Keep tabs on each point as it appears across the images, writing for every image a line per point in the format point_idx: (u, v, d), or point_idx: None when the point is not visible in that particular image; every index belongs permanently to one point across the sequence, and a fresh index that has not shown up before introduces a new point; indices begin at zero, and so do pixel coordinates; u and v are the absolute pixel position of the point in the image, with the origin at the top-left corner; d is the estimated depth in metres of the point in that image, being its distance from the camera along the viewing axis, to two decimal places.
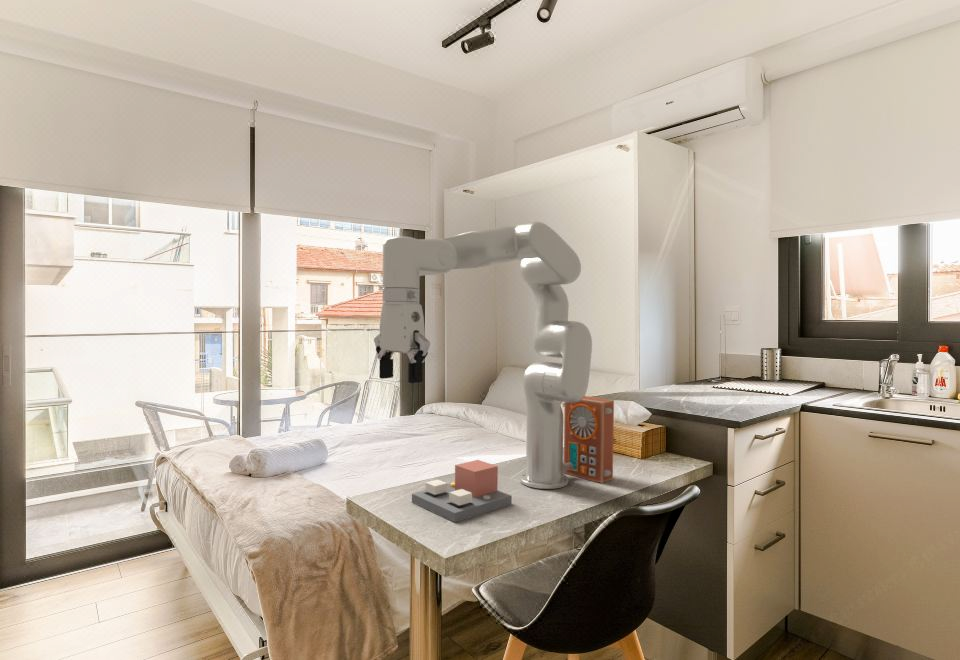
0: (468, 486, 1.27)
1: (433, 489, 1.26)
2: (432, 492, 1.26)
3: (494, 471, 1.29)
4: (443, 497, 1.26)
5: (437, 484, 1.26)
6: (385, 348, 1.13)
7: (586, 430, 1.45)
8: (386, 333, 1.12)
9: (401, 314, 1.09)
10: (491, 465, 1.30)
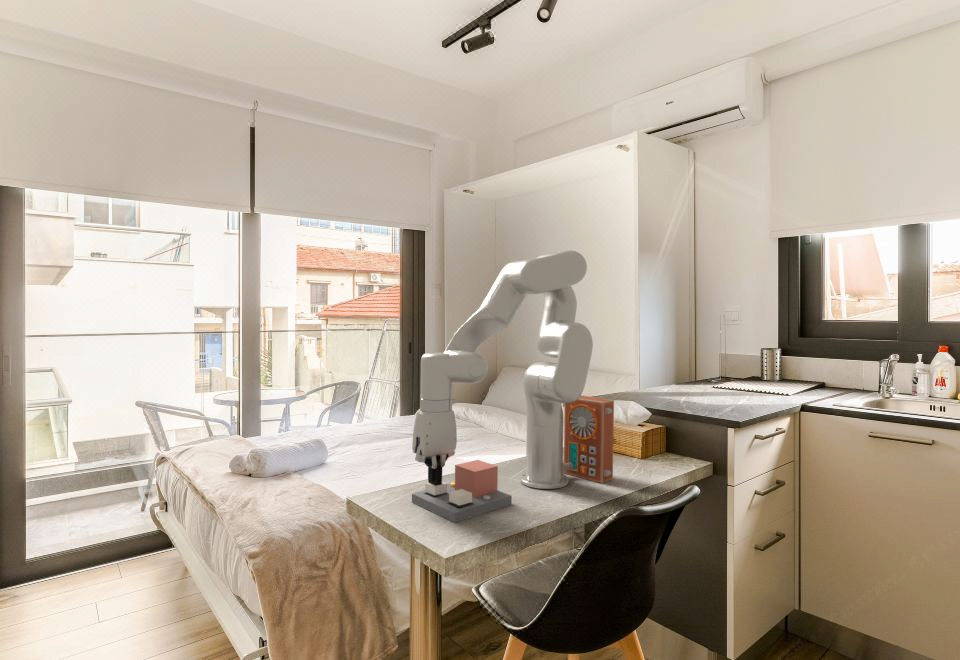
0: (468, 486, 1.27)
1: (433, 490, 1.26)
2: (432, 493, 1.26)
3: (494, 471, 1.29)
4: (443, 497, 1.26)
5: (437, 485, 1.26)
6: (432, 454, 1.24)
7: (586, 430, 1.45)
8: (436, 440, 1.25)
9: (452, 420, 1.28)
10: (491, 465, 1.30)
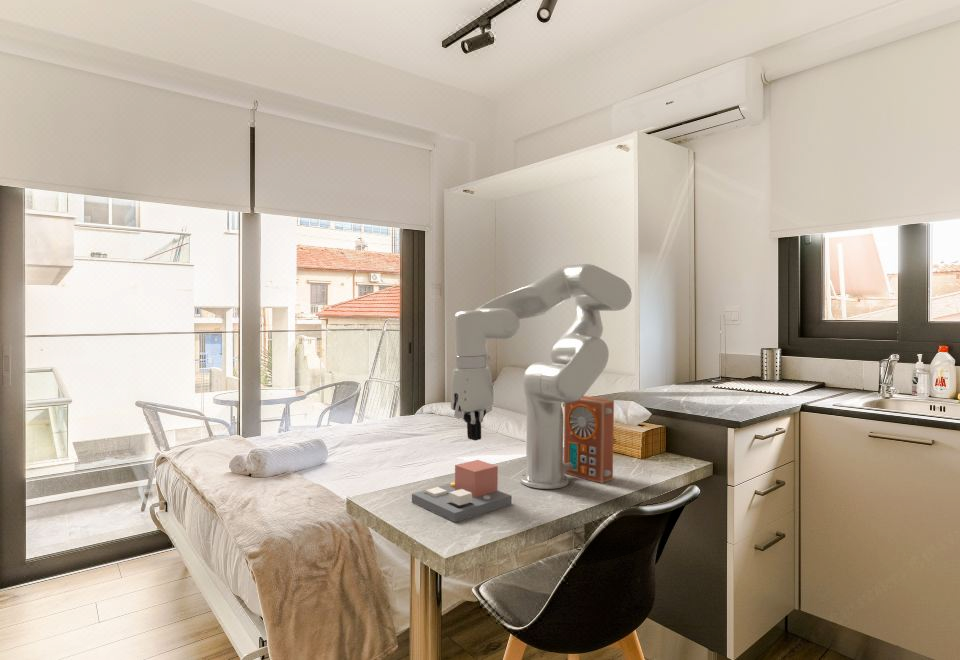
0: (468, 486, 1.27)
1: (433, 497, 1.26)
2: None
3: (494, 471, 1.29)
4: (443, 497, 1.26)
5: (437, 492, 1.26)
6: (470, 409, 1.26)
7: (586, 430, 1.45)
8: (473, 395, 1.27)
9: (488, 376, 1.29)
10: (491, 465, 1.30)
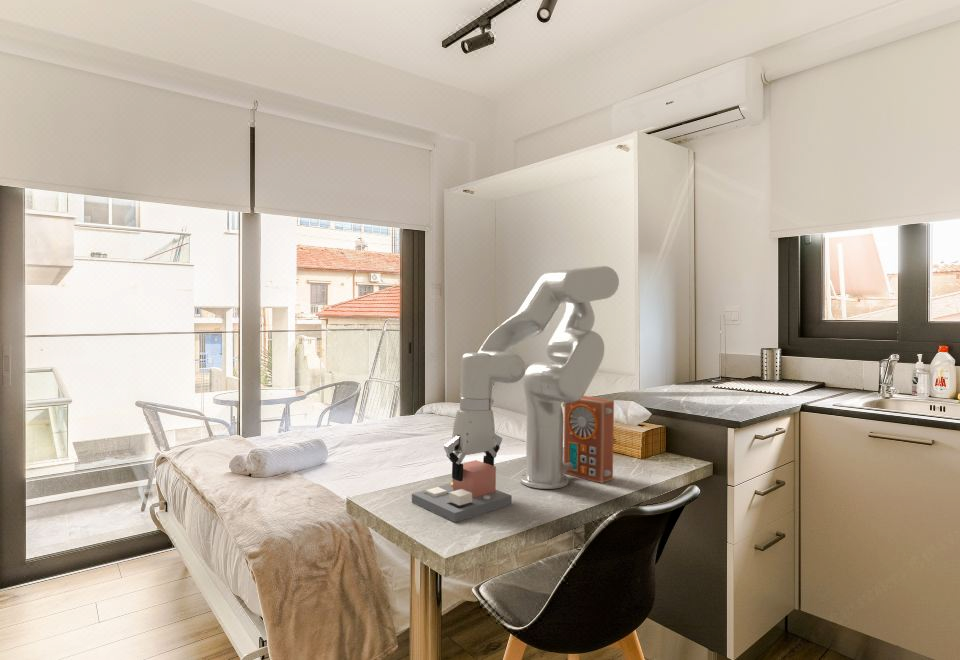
0: (466, 486, 1.26)
1: (433, 497, 1.26)
2: None
3: (492, 472, 1.29)
4: (443, 497, 1.26)
5: (437, 492, 1.26)
6: (471, 452, 1.26)
7: (586, 430, 1.45)
8: (475, 438, 1.27)
9: (491, 419, 1.30)
10: (489, 465, 1.30)
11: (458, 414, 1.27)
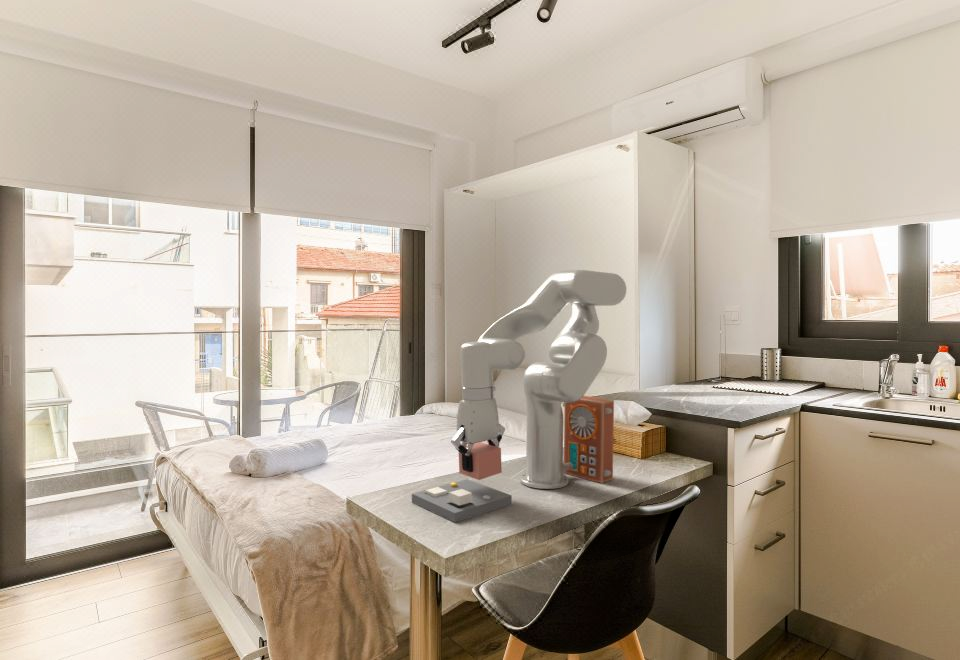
0: None
1: (433, 497, 1.26)
2: None
3: (498, 453, 1.30)
4: (443, 497, 1.26)
5: (437, 492, 1.26)
6: (477, 441, 1.27)
7: (586, 430, 1.45)
8: (480, 427, 1.27)
9: (494, 407, 1.30)
10: (494, 447, 1.31)
11: (461, 404, 1.27)
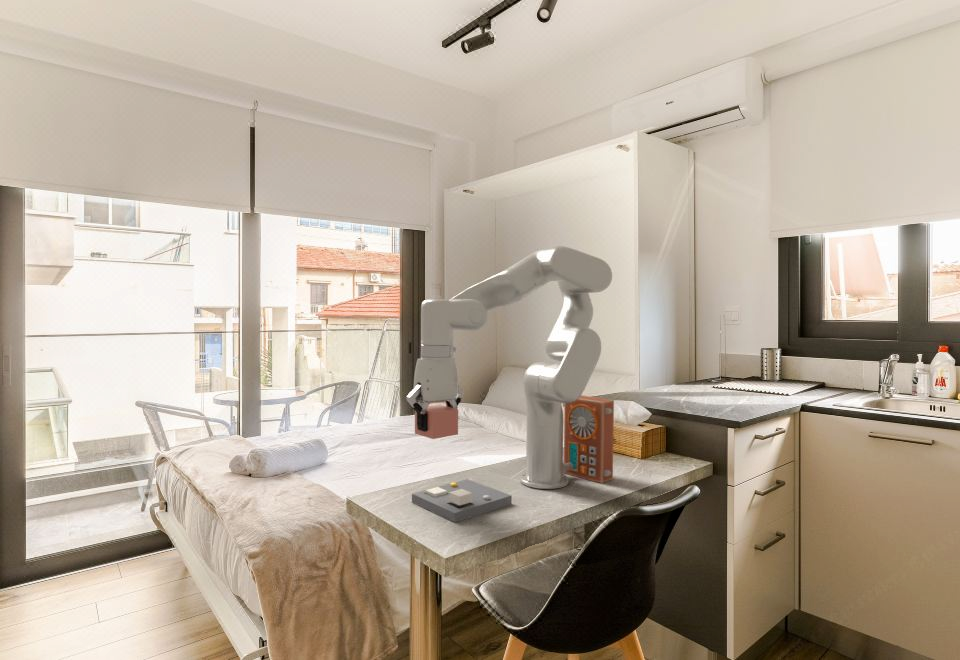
0: None
1: (433, 497, 1.26)
2: None
3: (455, 414, 1.26)
4: (443, 497, 1.26)
5: (437, 492, 1.26)
6: (433, 399, 1.24)
7: (586, 430, 1.45)
8: (437, 386, 1.24)
9: (453, 367, 1.27)
10: (452, 408, 1.27)
11: (418, 362, 1.24)
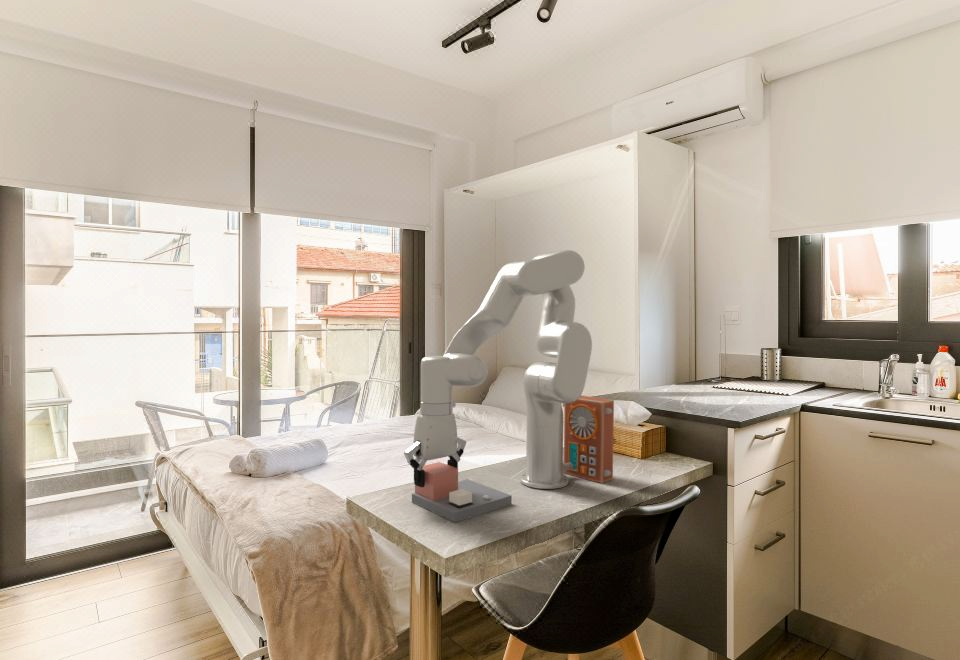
0: (427, 489, 1.25)
1: None
2: None
3: (454, 474, 1.27)
4: None
5: None
6: (433, 457, 1.25)
7: (586, 430, 1.45)
8: (436, 443, 1.25)
9: (452, 423, 1.28)
10: (452, 467, 1.28)
11: (418, 419, 1.25)
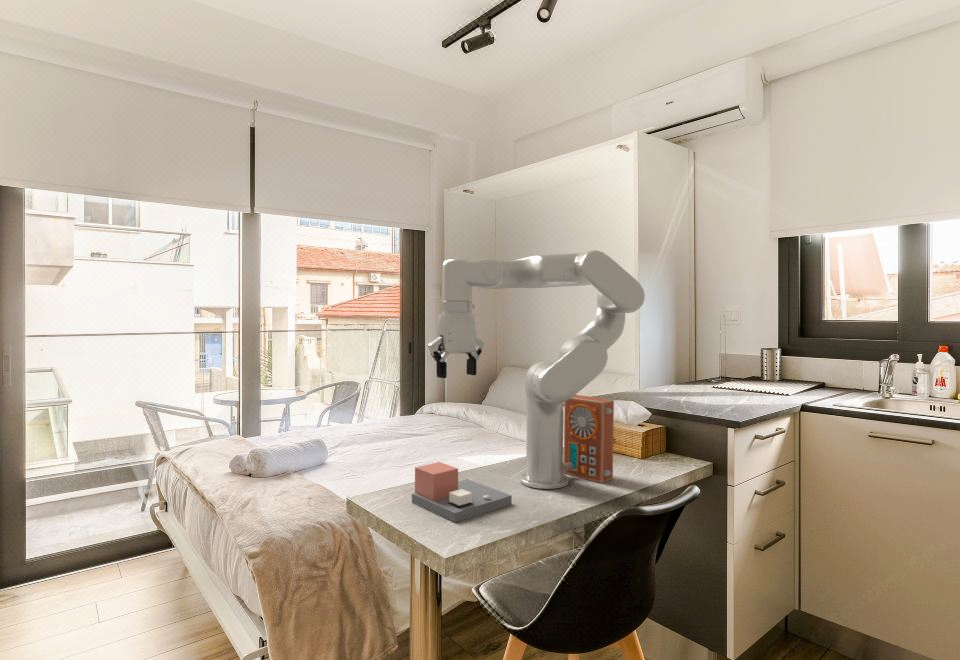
0: (427, 489, 1.25)
1: None
2: None
3: (454, 474, 1.27)
4: None
5: None
6: (454, 351, 1.35)
7: (586, 430, 1.45)
8: (457, 338, 1.35)
9: (472, 322, 1.38)
10: (452, 467, 1.28)
11: (440, 316, 1.35)
